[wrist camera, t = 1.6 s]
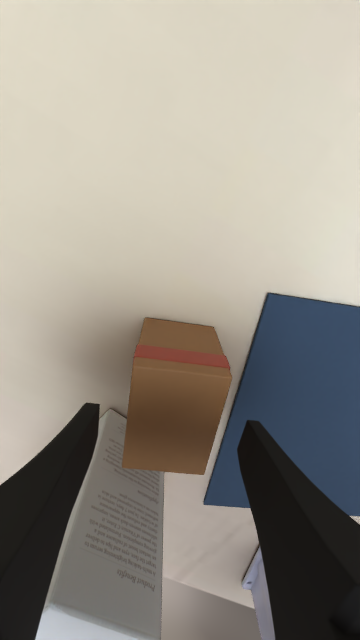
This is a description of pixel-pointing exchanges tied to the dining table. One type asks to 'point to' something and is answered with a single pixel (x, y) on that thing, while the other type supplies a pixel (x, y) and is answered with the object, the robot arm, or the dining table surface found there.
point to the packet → (175, 397)
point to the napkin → (300, 399)
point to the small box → (109, 551)
